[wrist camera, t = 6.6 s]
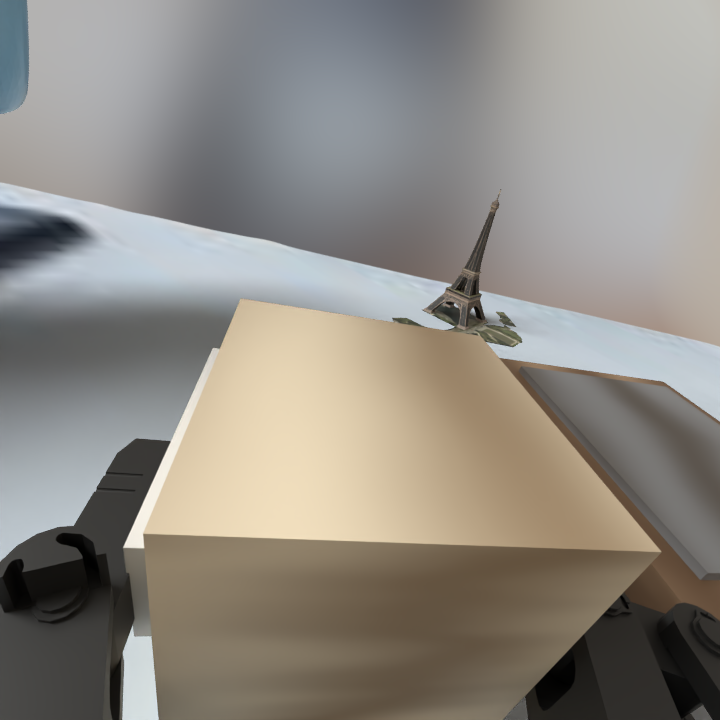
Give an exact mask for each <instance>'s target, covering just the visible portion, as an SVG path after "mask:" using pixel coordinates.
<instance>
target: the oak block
mask: <svg viewBox="0 0 720 720" xmlns="http://www.w3.org/2000/svg"><path fill="white" fill-rule="evenodd" d="M143 540H144V552H145V563H146V575H147V587H148V599H149V611H150V622H151V634H152V646H153V658H154V669H155V681H156V693H157V705H158V717H159V720H503V719H504V718H505V717H506V716H507V715H508V713H509V712H510V711H511V710H512V709H513V708H514V707H515V706H516V705H517V704H518V703H519V702H520V701H521V700H522V699H523V698H524V697H525V696H526V694H527V693H528V692H529V691H530V690H531V689H532V688H533V687H534V686H535V685H536V684H537V683H538V682H539V681H540V680H541V679H542V678H543V677H544V676H545V674H546V673H547V672H548V671H549V670H550V669H551V668H552V667H553V666H554V665H555V664H556V663H557V662H558V661H559V660H560V659H561V658H562V657H563V656H564V654H565V653H566V652H567V651H568V650H569V649H570V648H571V647H572V646H573V645H574V644H575V643H576V642H577V641H578V640H579V639H580V638H581V637H582V636H583V634H584V633H585V632H586V631H587V630H588V629H589V628H590V627H591V626H592V625H593V624H594V623H595V622H596V621H597V620H598V619H599V618H600V617H601V616H602V614H603V613H604V612H605V611H606V610H607V609H608V608H609V607H610V606H611V605H612V604H613V603H614V602H615V601H616V600H617V599H618V598H619V597H620V596H621V594H622V593H623V592H624V591H625V590H626V589H627V588H628V587H629V586H630V585H631V584H632V583H633V582H634V581H635V580H636V579H637V578H638V577H639V576H640V574H641V573H642V572H643V571H644V570H645V569H646V568H647V567H648V566H649V565H650V564H651V563H652V562H653V561H654V560H655V559H656V558H657V557H658V556H659V554H660V553H661V551H660V549H659V548H658V547H657V546H656V545H655V543H654V542H653V541H652V540H651V539H650V537H649V536H648V535H647V534H646V533H645V532H644V530H643V529H642V528H641V527H640V526H639V524H638V523H637V522H636V521H635V520H634V518H633V517H632V516H631V515H630V514H629V512H628V511H627V510H626V509H625V508H624V506H623V505H622V504H621V503H620V502H619V501H618V499H617V498H616V497H615V496H614V495H613V493H612V492H611V491H610V490H609V489H608V487H607V486H606V485H605V484H604V483H603V481H602V480H601V479H600V478H599V477H598V475H597V474H596V473H595V472H594V471H593V469H592V468H591V467H590V466H589V465H588V464H587V462H586V461H585V460H584V459H583V458H582V456H581V455H580V454H579V453H578V452H577V450H576V449H575V448H574V447H573V446H572V444H571V443H570V442H569V441H568V440H567V438H566V437H565V436H564V435H563V434H562V433H561V431H560V430H559V429H558V428H557V427H556V425H555V424H554V423H553V422H552V421H551V419H550V418H549V417H548V416H547V415H546V413H545V412H544V411H543V410H542V409H541V407H540V406H539V405H538V404H537V403H536V401H535V400H534V399H533V398H532V397H531V396H530V394H529V393H528V392H527V391H526V390H525V388H524V387H523V386H522V385H521V384H520V382H519V381H518V380H517V379H516V378H515V376H514V375H513V374H512V373H511V372H510V370H509V369H508V368H507V367H506V366H505V365H504V363H503V362H502V361H501V360H500V359H499V357H498V356H497V355H496V354H495V353H494V351H493V350H492V349H491V348H490V347H489V345H488V344H487V343H486V342H485V341H484V339H483V338H482V337H481V336H477V335H471V334H465V333H458V332H452V331H446V330H439V329H433V328H426V327H420V326H414V325H407V324H401V323H395V322H388V321H382V320H375V319H369V318H363V317H356V316H350V315H344V314H337V313H331V312H324V311H318V310H312V309H305V308H299V307H293V306H286V305H280V304H273V303H267V302H261V301H254V300H248V299H242V298H241V299H240V302H239V304H238V306H237V309H236V311H235V314H234V316H233V318H232V321H231V323H230V326H229V328H228V330H227V333H226V335H225V338H224V340H223V342H222V345H221V347H220V350H219V352H218V354H217V357H216V359H215V362H214V364H213V366H212V369H211V371H210V374H209V376H208V379H207V381H206V383H205V386H204V388H203V391H202V393H201V395H200V398H199V400H198V403H197V405H196V407H195V410H194V412H193V415H192V417H191V419H190V422H189V424H188V427H187V429H186V431H185V434H184V436H183V439H182V441H181V443H180V446H179V448H178V451H177V453H176V455H175V458H174V460H173V463H172V465H171V467H170V470H169V472H168V475H167V477H166V480H165V482H164V484H163V487H162V489H161V492H160V494H159V496H158V499H157V501H156V504H155V506H154V508H153V511H152V513H151V516H150V518H149V520H148V523H147V525H146V528H145V530H144V532H143Z"/></svg>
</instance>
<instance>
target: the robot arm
mask: <svg viewBox="0 0 720 720" xmlns="http://www.w3.org/2000/svg"><path fill="white" fill-rule="evenodd" d="M28 76H29V39H28V11H27V0H0V114H4V113H7V112H11V111H14V110H16V109H17V108H19V107H20V106H21V105H22V104H23V102H24V100H25V98H26V95H27V91H28ZM219 350H220V349H217V348H213V349H212V351H211V353H210V355H209V358H208V360H207V362H206V364H205V367H204V369H203V371H202V373H201V375H200V378H199V380H198V382H197V384H196V387H195V389H194V391H193V393H192V395H191V398H190V400H189V402H188V404H187V407H186V409H185V411H184V413H183V415H182V418H181V420H180V422H179V424H178V427H177V429H176V431H175V433H174V436H173V438H172V440H171V441H161V440H148V439H135V440H134V441H132V442H131V443H130V444H129V445H127V446H126V447H125V448H124V449H122V450H121V451H120V452H118V453H117V455H116V456H115V458H114V460H113V461H112V463H111V465H110V466H109V468H108V470H107V471H106V475H105V476H103V478H102V480H101V481H100V483H99V485H98V486H97V490H96V492H94V493H93V495H92V496H91V498H90V500H89V501H88V503H87V505H86V506H85V508H84V510H83V511H82V513H81V515H80V516H79V518H78V520H77V521H76V523H75V525H74V526H67V527H57V528H54V529H51V530H48V531H45V532H42V533H39V534H36V535H35V536H33V537H31V538H30V539H28V540H26V541H24V542H23V543H21V544H19V545H18V546H16V547H15V548H14V549H13V550H12V551H11V552H10V553H9V554H8V555H7V556H6V557H5V558H4V559H3V560H2V561H1V562H0V720H122V708H123V677H124V660H123V650H124V647H125V644H126V641H127V639H128V636H129V633H130V630H131V628H132V625H133V629H134V636H152V634H151V622H150V611H149V599H148V587H147V575H146V563H145V552H144V540H143V532H144V530H145V528H146V525H147V523H148V520H149V518H150V516H151V513H152V511H153V508H154V506H155V504H156V501H157V499H158V496H159V494H160V492H161V489H162V487H163V484H164V482H165V480H166V477H167V475H168V472H169V470H170V467H171V465H172V463H173V460H174V458H175V455H176V453H177V451H178V448H179V446H180V443H181V441H182V439H183V436H184V434H185V431H186V429H187V427H188V424H189V422H190V419H191V417H192V415H193V412H194V410H195V407H196V405H197V403H198V400H199V398H200V395H201V393H202V391H203V388H204V386H205V383H206V381H207V379H208V376H209V374H210V371H211V369H212V366H213V364H214V362H215V359H216V357H217V354H218V352H219ZM525 698H526V705H527V712H528V719H529V720H695V719H694V718H693V717H692V715H691V714H690V713H691V712H693V711H694V710H696V709H697V708H699V707H700V706H702V705H704V707H705V708H706V710H707V712H708V713H709V715H710V716H711V718H712V720H720V621H719V620H718V619H717V618H715V617H714V616H713V615H712V614H710V613H709V612H707V611H705V610H703V609H702V608H700V607H698V606H696V605H692V604H689V603H685V602H684V603H678V604H676V605H675V606H673V607H672V608H671V609H670V610H669V611H668V612H667V613H666V614H665V613H662V612H659V611H656V610H653V609H650V608H648V607H645V606H642V605H639V604H636V603H633V602H631V601H630V599H629V598H628V597H627V595H626V594H625V593H624V592H623V593H622V594H621V596H620V597H619V598H618V599H617V600H616V601H615V602H614V603H613V604H612V605H611V606H610V607H609V608H608V609H607V610H606V611H605V612H604V613H603V614H602V616H601V617H600V618H599V619H598V620H597V621H596V622H595V623H594V624H593V625H592V626H591V627H590V628H589V629H588V630H587V631H586V632H585V633H584V634H583V636H582V637H581V638H580V639H579V640H578V641H577V642H576V643H575V644H574V645H573V646H572V647H571V648H570V649H569V650H568V651H567V652H566V653H565V654H564V656H563V657H562V658H561V659H560V660H559V661H558V662H557V663H556V664H555V665H554V666H553V667H552V668H551V669H550V670H549V671H548V672H547V673H546V674H545V676H544V677H543V678H542V679H541V680H540V681H539V682H538V683H537V684H536V685H535V686H534V687H533V688H532V689H531V690H530V691H529V692H528V693H527V694H526V696H525Z"/></svg>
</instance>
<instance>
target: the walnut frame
mask: <svg viewBox="0 0 720 720" xmlns="http://www.w3.org/2000/svg"><path fill="white" fill-rule="evenodd" d="M499 359H500V360H501V361H502V362H503V363H504V365H505V366H506V367H507V368H508V369H509V370H510V372H511V373H512V374H513V375H514V376H515V378H516V379H517V380H518V381H519V382H520V384H521V385H522V386H523V387H524V388H525V390H526V391H527V392H528V393H529V394H530V396H531V397H532V398H533V399H534V400H535V401H536V403H537V404H538V405H539V406H540V407H541V409H542V410H543V411H544V412H545V413H546V415H547V416H548V417H549V418H550V419H551V421H552V422H553V423H554V424H555V425H556V427H557V428H558V429H559V430H560V431H561V433H562V434H563V435H564V436H565V437H566V438H567V440H568V441H569V442H570V443H571V444H572V446H573V447H574V448H575V449H576V450H577V452H578V453H579V454H580V455H581V456H582V458H583V459H584V460H585V461H586V462H587V464H588V465H589V466H590V467H591V468H592V469H593V471H594V472H595V473H596V474H597V475H598V477H599V478H600V479H601V480H602V481H603V483H604V484H605V485H606V486H607V487H608V489H609V490H610V491H611V492H612V493H613V495H614V496H615V497H616V498H617V499H618V501H619V502H620V503H621V504H622V505H623V506H624V508H625V509H626V510H627V511H628V512H629V514H630V515H631V516H632V517H633V518H634V520H635V521H636V522H637V523H638V524H639V526H640V527H641V528H642V529H643V530H644V532H645V533H646V534H647V535H648V536H649V537H650V539H651V540H652V541H653V542H654V543H655V545H656V546H657V547H658V548H659V549H660V551H661V553H660V554H659V556H658V557H657V558H656V559H655V560H654V561H653V562H652V563H651V564H650V565H649V566H648V567H647V568H646V569H645V570H644V571H643V572H642V573H641V574H640V576H639V577H638V578H637V579H636V580H635V581H634V582H633V583H632V584H631V585H630V586H629V587H628V588H627V589H626V590H625V591H624V593H625V594H626V595H627V597H628V598H629V599H630V601H631V602H633V603H636V604H639V605H642V606H645V607H648V608H650V609H653V610H656V611H659V612H662V613H665V614H666V613H667V612H668V611H669V610H670V609H671V608H672V607H673V606H675V605H676V604H678V603H684V602H685V603H689V604H692V605H696V606H698V607H700V608H702V609H703V610H705V611H707V612H709V613H710V614H712V615H713V616H714V617H715V618H717V619H718V620H719V621H720V422H719V421H718V420H717V419H715V418H714V417H712V416H711V415H709V414H708V413H707V412H705V411H704V410H702V409H701V408H700V407H698V406H697V405H695V404H694V403H692V402H691V401H690V400H688V399H687V398H685V397H684V396H683V395H681V394H680V393H678V392H677V391H675V390H674V389H673V388H671V387H670V386H668V385H667V384H666V383H664V382H661V381H654V380H647V379H640V378H633V377H626V376H620V375H613V374H606V373H599V372H592V371H585V370H578V369H571V368H564V367H558V366H551V365H544V364H537V363H530V362H523V361H516V360H509V359H503V358H499Z"/></svg>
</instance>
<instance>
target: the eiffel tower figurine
mask: <svg viewBox="0 0 720 720" xmlns="http://www.w3.org/2000/svg"><path fill="white" fill-rule="evenodd" d="M500 192H501V191H500ZM500 192H499V194H500ZM498 197H499V195H498ZM498 206H499V202H498V198H497V200H496V201H494V202H493V203H492V205H491V210H490V213H489V215H488V218H487V220H486V222H485V225H484V227H483V229H482V232H481V234H480V236H479V239H478V241H477V243H476V245H475V248H474V250H473V252H472V254H471V256H470V258H469V260H468V262H467V264H466V266H465V267H464V268H462V272H461V274H460V275H459V276H458V278H457V279H456V281H455V282H454V283H453V284H452V286H451V287H447V288H446V291H445V293H444V294H443V295H441V296H440V297H439V298H438V299H437V300H435V301H434V302H433V303H432V304H430V305H429V306H428V307H427V308H425V309H423V311H425V312H427V313H429V314H431V315H433V316H435V317H437V318H439V319H441V320H443V321H445V322H447V323H449V324H451V325H453V326H455V327H454V328H452V329H449V330H446V331H452V332H458V333H465V334H471V335H477V336H481V337H482V338H483V339H484V341H487V342H492V343H497V344H502V345H506V346H511V347H514V346H516V345H517V344H519V343H522V339H521V337H519V336H518V335H517V333H516V332H514V331H512V330H510V328H508V327H507V326H505V325H509V326H514V327H516V326H515V325H514V324H513V323H512V321H511V320H510V319H509V318H508V317H507V316H506V315H505V313H503V312H496V313H497V314H498V315H499V316H500V318H501V319H499V321H500V322H502V323H503V324H505V325H504V327H501V326H495V325H483V324H486V323H488V322H487V320H485V316H484V313H483V309H482V306H481V302H480V298H481V295H482V294H480V293H479V274H480V273H481V272H480V267H481V262H482V258H483V254H484V250H485V246H486V242H487V239H488V236H489V232H490V229H491V226H492V222H493V219H494V216H495V212H496V210H497V209H498V208H499V207H498ZM466 284H467V285H466ZM465 286H466V287H465ZM444 302H446V303H444ZM443 303H444V304H443ZM454 303H456V304H457V305H458V307H459V309H458V308H456V307H454ZM441 304H442V305H441ZM473 307H474V310H475V313H476V317H475V316H473V315H471V314H470V311H471V309H472V308H473ZM392 319H393V321H394V322H395V323H401V324H407V325H414V326H420V327H424V326H422V325H420V324H418V323H416V322H414V321H412V320H409V319H407V318H392ZM426 328H427V327H426Z"/></svg>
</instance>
